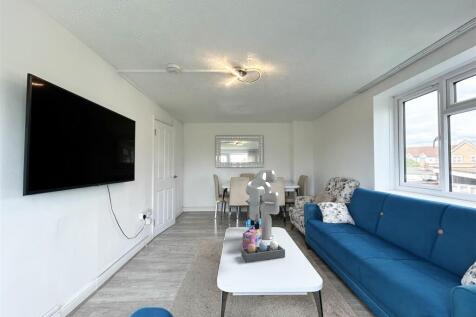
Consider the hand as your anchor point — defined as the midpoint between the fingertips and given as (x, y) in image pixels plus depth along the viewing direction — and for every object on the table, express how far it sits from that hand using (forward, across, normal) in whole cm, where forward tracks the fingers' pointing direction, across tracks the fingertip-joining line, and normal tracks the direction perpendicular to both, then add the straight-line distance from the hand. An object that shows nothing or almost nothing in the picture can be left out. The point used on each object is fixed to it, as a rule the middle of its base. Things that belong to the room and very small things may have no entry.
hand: (254, 227), depth 163 cm
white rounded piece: (+19, -1, +16) cm, 25 cm away
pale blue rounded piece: (+19, -1, +7) cm, 20 cm away
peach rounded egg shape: (+19, -1, -2) cm, 19 cm away
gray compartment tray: (+22, -1, +7) cm, 23 cm away
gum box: (+22, -22, +6) cm, 32 cm away
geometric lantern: (+22, -64, +23) cm, 71 cm away
